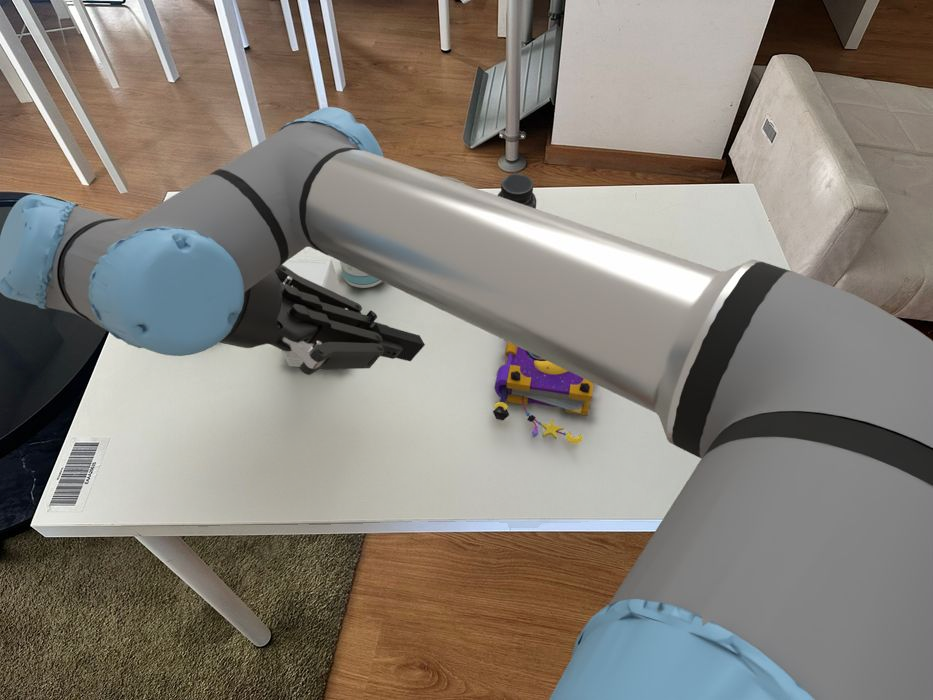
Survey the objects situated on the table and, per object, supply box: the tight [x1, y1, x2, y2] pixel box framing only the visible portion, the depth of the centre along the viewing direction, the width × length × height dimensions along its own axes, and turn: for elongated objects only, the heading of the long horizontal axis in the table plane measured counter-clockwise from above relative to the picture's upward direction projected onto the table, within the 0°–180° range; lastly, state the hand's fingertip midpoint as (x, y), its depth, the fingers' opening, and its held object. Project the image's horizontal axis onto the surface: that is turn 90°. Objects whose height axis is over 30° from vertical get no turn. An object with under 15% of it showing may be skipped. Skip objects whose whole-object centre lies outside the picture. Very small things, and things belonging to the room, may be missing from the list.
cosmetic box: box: [281, 256, 347, 371], centre depth 85 cm, size 8×7×16 cm
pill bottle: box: [497, 173, 537, 209], centre depth 100 cm, size 6×6×11 cm
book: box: [492, 341, 594, 445], centre depth 84 cm, size 14×25×12 cm, turn 169°
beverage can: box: [339, 261, 383, 289], centre depth 95 cm, size 7×7×12 cm
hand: (414, 348), depth 73 cm, fingers closed
